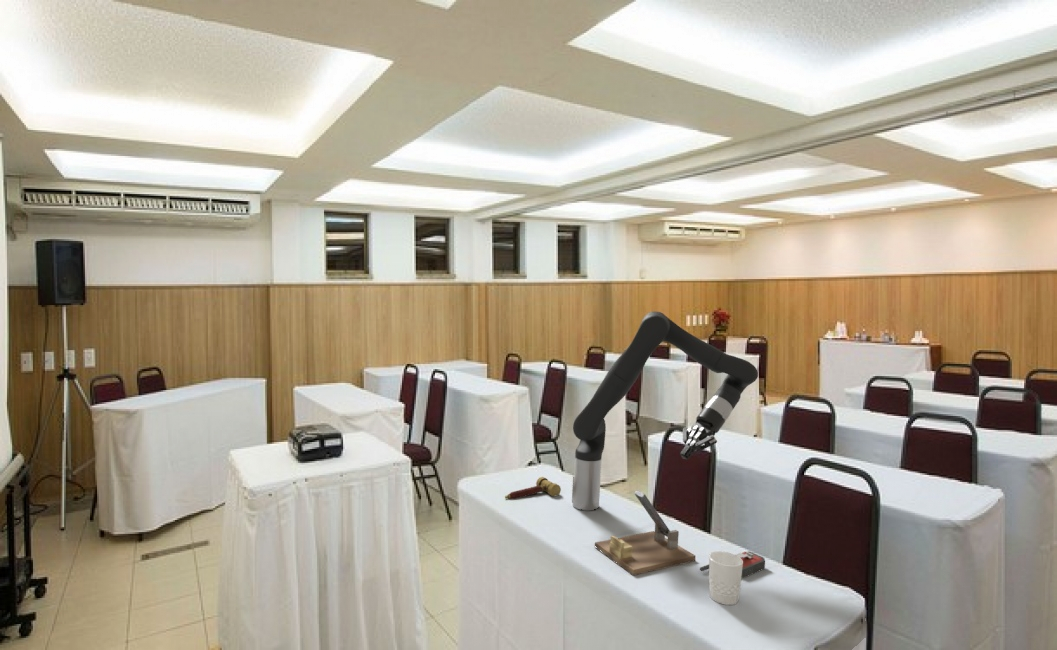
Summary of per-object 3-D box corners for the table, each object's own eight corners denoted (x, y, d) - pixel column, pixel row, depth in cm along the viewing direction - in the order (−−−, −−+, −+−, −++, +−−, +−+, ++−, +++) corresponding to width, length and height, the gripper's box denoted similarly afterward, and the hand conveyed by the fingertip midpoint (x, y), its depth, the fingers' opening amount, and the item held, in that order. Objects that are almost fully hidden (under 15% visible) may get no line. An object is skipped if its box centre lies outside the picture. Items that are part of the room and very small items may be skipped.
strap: (633, 493, 161) (637, 489, 161) (661, 534, 167) (665, 530, 167) (641, 498, 158) (645, 493, 158) (670, 539, 164) (673, 534, 164)
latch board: (594, 547, 165) (595, 525, 164) (653, 535, 175) (654, 515, 175) (633, 575, 149) (634, 551, 148) (695, 560, 159) (696, 538, 159)
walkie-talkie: (741, 556, 164) (696, 572, 153) (742, 541, 164) (697, 556, 152) (769, 569, 157) (724, 587, 145) (770, 553, 157) (725, 570, 145)
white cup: (722, 609, 134) (725, 568, 134) (700, 592, 141) (702, 553, 141) (747, 603, 137) (750, 563, 137) (724, 587, 144) (726, 549, 144)
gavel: (512, 495, 197) (498, 486, 205) (512, 508, 197) (498, 499, 206) (560, 483, 208) (545, 475, 216) (561, 495, 208) (546, 487, 217)
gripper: (693, 402, 178) (662, 444, 173) (725, 410, 167) (693, 455, 161) (704, 418, 181) (674, 459, 176) (737, 426, 169) (706, 471, 164)
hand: (683, 457), depth 169 cm, fingers closed
